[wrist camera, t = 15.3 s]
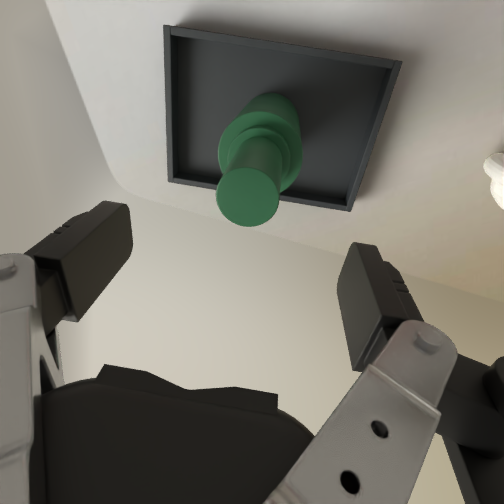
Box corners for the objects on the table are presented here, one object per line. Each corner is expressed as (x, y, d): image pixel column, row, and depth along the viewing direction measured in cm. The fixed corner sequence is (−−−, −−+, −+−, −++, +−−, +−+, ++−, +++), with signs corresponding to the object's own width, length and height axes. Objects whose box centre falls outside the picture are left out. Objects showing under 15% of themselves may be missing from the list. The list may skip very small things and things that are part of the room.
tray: (174, 174, 33) (167, 182, 31) (172, 26, 26) (162, 24, 24) (347, 202, 33) (350, 212, 31) (394, 60, 26) (402, 61, 24)
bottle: (237, 150, 30) (187, 239, 16) (244, 88, 27) (188, 126, 13) (292, 159, 30) (294, 257, 16) (305, 97, 27) (321, 147, 12)
